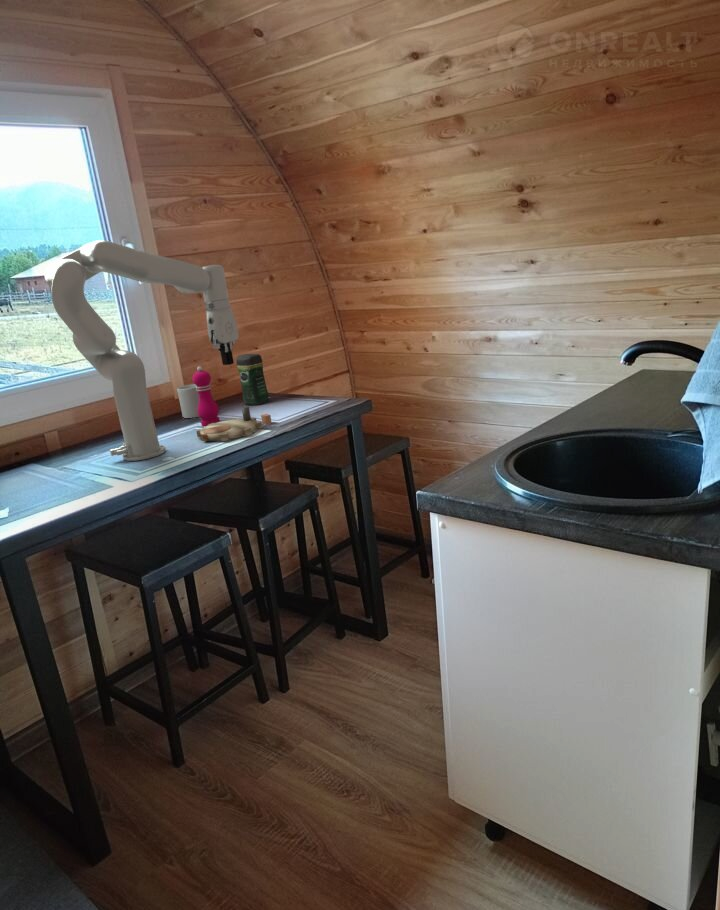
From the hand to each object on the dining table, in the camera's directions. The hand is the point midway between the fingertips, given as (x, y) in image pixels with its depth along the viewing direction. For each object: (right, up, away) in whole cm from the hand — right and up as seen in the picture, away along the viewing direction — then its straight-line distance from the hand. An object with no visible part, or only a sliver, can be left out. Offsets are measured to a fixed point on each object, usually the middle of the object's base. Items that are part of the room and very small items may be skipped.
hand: (228, 364), depth 228 cm
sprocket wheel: (+1, -22, -1) cm, 22 cm away
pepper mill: (-9, -19, +17) cm, 26 cm away
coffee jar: (+3, -10, +40) cm, 42 cm away
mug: (-17, -15, +32) cm, 39 cm away
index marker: (+12, -19, +6) cm, 23 cm away
